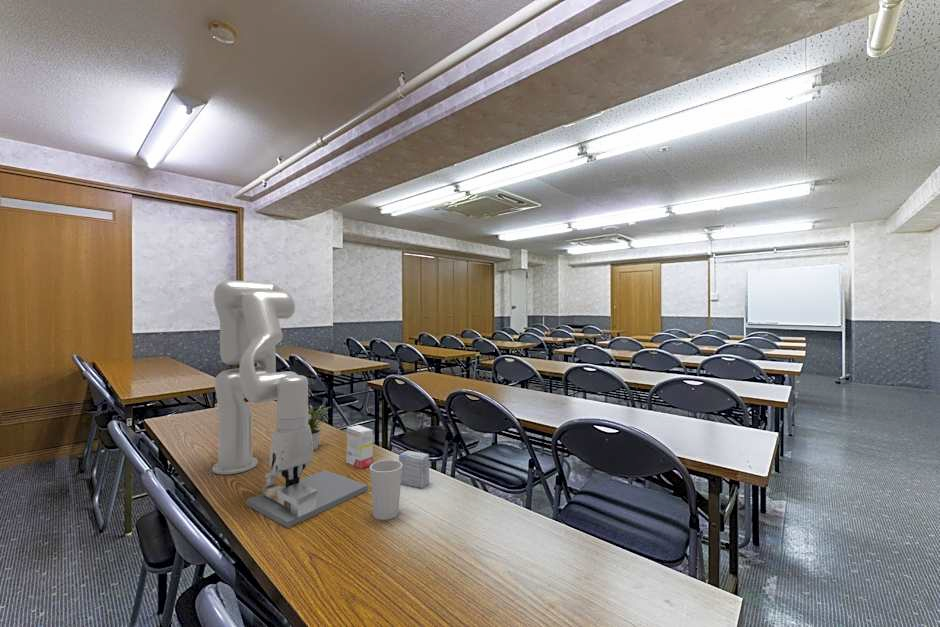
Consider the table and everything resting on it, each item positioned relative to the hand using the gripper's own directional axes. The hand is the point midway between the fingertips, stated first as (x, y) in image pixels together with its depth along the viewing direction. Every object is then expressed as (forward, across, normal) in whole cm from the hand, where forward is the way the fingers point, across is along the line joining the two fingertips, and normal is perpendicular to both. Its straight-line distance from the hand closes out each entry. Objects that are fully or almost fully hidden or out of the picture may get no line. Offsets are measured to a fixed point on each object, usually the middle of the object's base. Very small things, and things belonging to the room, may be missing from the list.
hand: (292, 491), depth 107 cm
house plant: (+3, -28, -32) cm, 42 cm away
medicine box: (+3, -27, +18) cm, 33 cm away
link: (+1, +3, 0) cm, 3 cm away
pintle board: (+3, -4, +2) cm, 5 cm away
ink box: (+3, -28, -6) cm, 29 cm away
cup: (+3, -10, +24) cm, 27 cm away
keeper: (+1, +3, +7) cm, 8 cm away
